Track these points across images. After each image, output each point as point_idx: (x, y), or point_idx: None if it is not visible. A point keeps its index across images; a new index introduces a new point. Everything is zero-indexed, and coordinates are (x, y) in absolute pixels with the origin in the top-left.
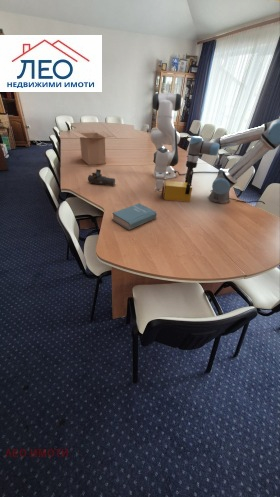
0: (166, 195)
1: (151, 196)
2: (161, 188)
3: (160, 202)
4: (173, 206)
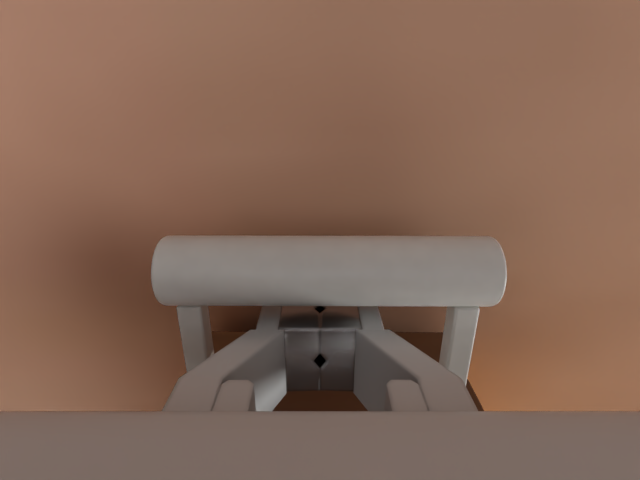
0: None
1: (281, 130)
2: None
3: (61, 305)
4: None
